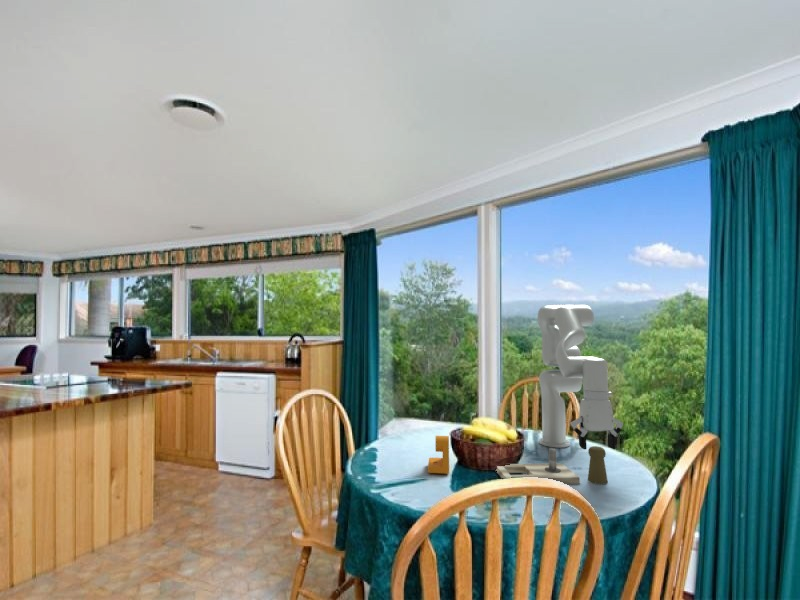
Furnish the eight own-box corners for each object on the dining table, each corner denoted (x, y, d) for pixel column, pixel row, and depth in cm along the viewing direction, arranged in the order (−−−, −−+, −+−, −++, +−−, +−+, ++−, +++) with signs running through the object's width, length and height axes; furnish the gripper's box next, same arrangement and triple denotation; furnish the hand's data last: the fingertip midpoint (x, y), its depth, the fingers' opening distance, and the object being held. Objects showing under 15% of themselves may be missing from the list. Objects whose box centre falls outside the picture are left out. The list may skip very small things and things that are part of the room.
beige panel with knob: (495, 470, 152) (494, 444, 153) (561, 468, 153) (561, 443, 154) (506, 484, 138) (506, 456, 139) (579, 483, 139) (579, 455, 140)
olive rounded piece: (610, 485, 138) (609, 450, 139) (590, 483, 139) (589, 449, 140) (604, 478, 144) (603, 445, 145) (585, 477, 145) (584, 444, 146)
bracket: (429, 464, 158) (429, 431, 159) (448, 465, 157) (448, 432, 158) (427, 475, 147) (427, 439, 148) (449, 476, 147) (448, 440, 147)
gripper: (615, 393, 147) (616, 445, 146) (565, 394, 146) (566, 445, 145) (627, 397, 140) (629, 451, 138) (575, 397, 139) (577, 451, 138)
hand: (597, 448), depth 142 cm, fingers open, 9 cm apart
